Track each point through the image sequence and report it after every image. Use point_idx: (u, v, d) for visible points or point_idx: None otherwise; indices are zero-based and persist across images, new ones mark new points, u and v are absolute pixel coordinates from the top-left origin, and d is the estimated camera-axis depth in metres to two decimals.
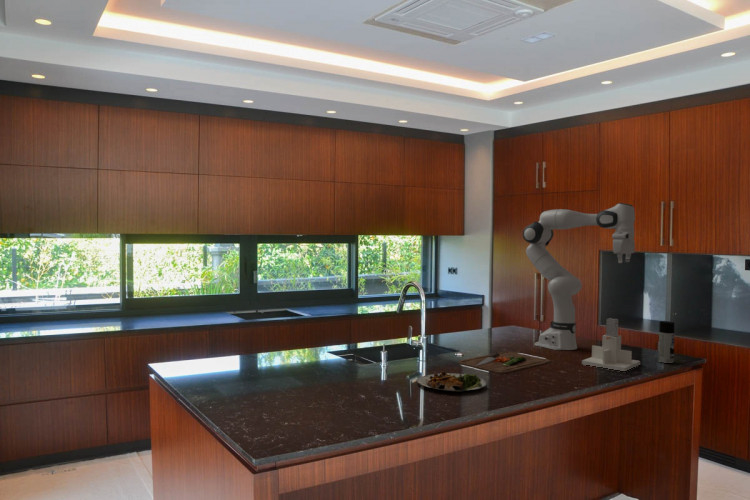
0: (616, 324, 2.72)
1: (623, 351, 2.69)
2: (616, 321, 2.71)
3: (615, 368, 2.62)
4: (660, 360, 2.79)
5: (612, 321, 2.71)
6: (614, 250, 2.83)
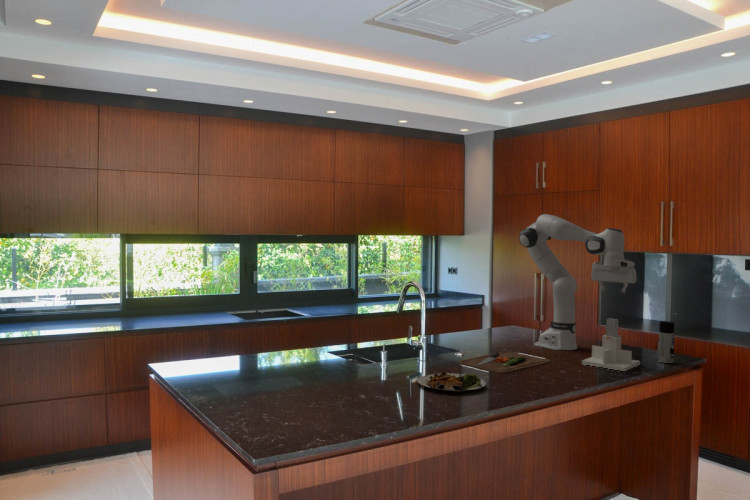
0: (616, 324, 2.72)
1: (623, 351, 2.69)
2: (616, 321, 2.71)
3: (615, 368, 2.62)
4: (660, 360, 2.79)
5: (612, 321, 2.71)
6: (634, 279, 2.65)
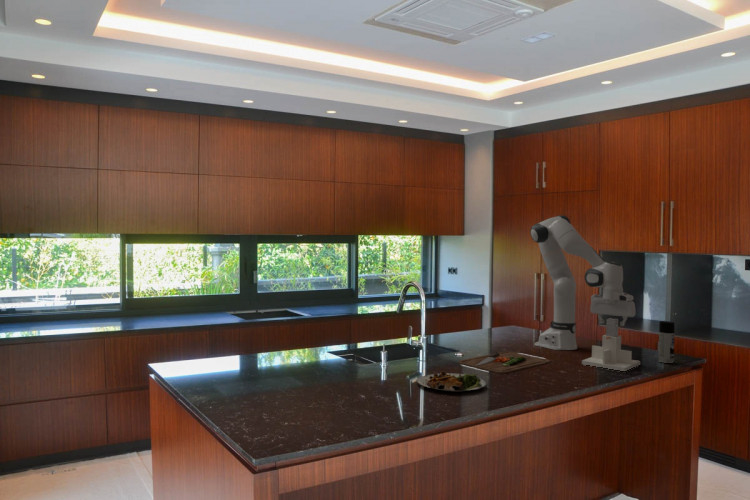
0: (616, 324, 2.72)
1: (623, 351, 2.69)
2: (616, 321, 2.71)
3: (615, 368, 2.62)
4: (660, 360, 2.79)
5: (612, 321, 2.71)
6: (633, 313, 2.65)
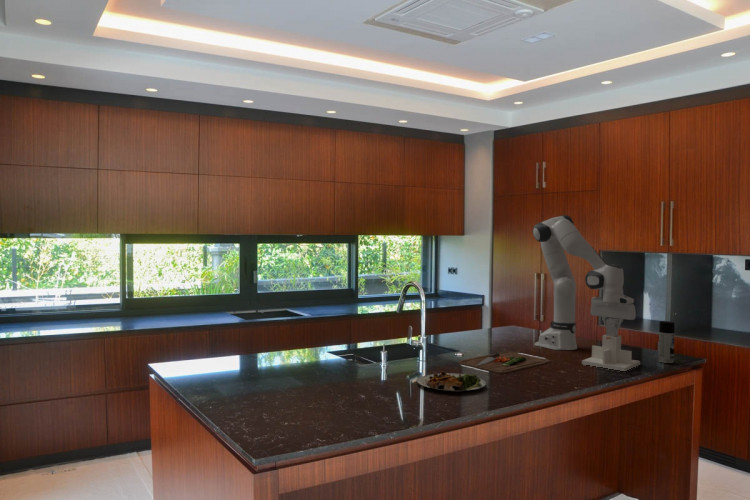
0: None
1: (623, 351, 2.69)
2: (616, 321, 2.71)
3: (615, 368, 2.62)
4: (660, 360, 2.79)
5: (612, 321, 2.71)
6: (633, 316, 2.65)
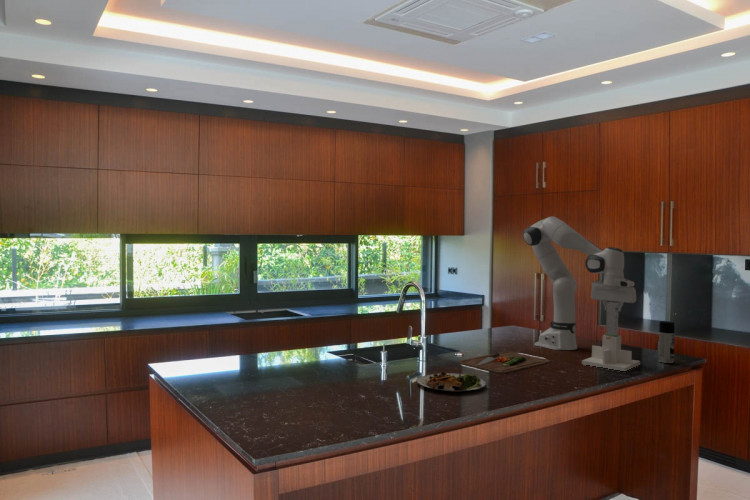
0: None
1: (623, 351, 2.69)
2: (616, 305, 2.71)
3: (615, 368, 2.62)
4: (660, 360, 2.79)
5: (612, 305, 2.71)
6: (634, 299, 2.65)
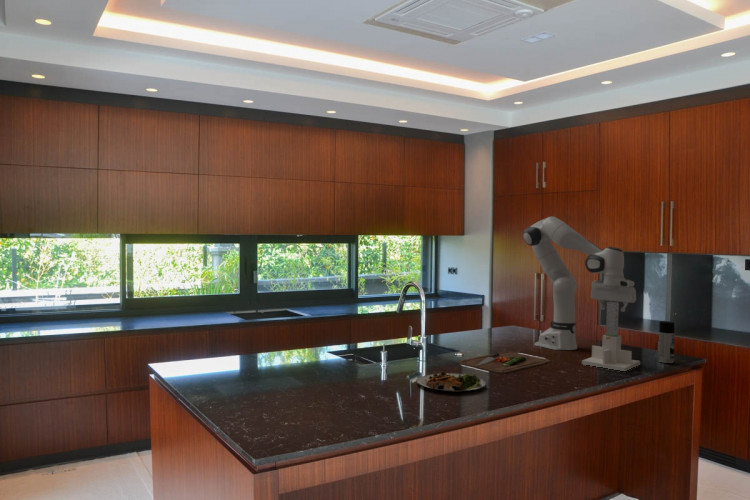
0: (616, 307, 2.71)
1: (623, 351, 2.69)
2: (616, 304, 2.71)
3: (615, 368, 2.62)
4: (660, 360, 2.79)
5: (612, 304, 2.71)
6: (634, 299, 2.65)
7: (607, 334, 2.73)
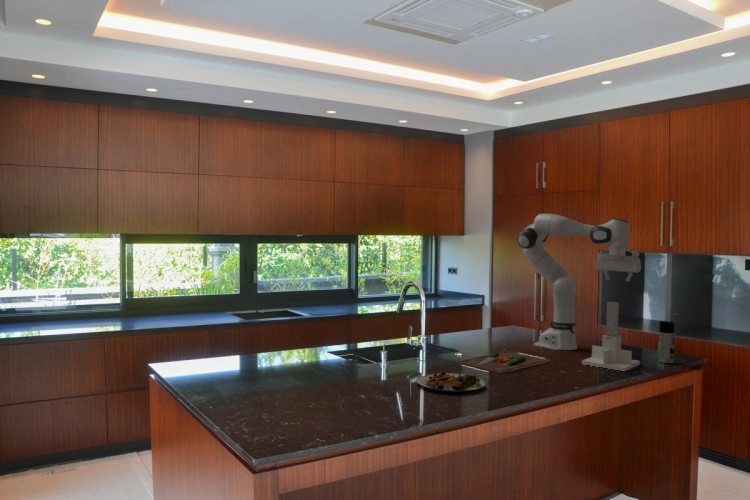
0: (616, 307, 2.71)
1: (623, 351, 2.69)
2: (616, 304, 2.71)
3: (615, 368, 2.62)
4: (660, 360, 2.79)
5: (612, 304, 2.71)
6: (638, 269, 2.71)
7: (607, 334, 2.73)
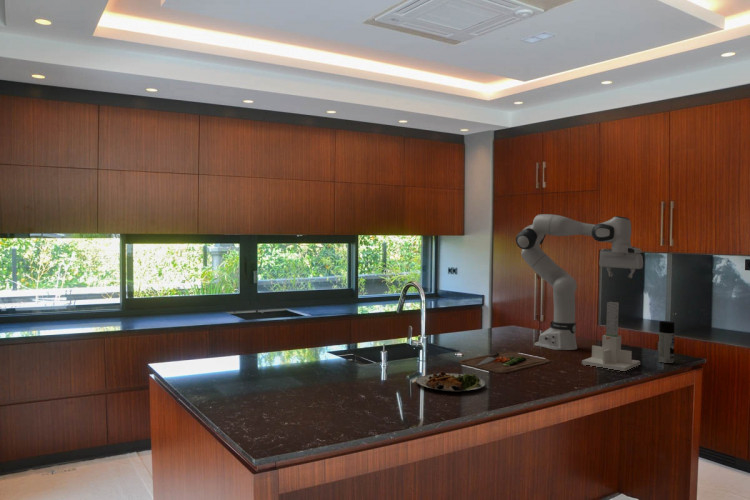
0: (616, 307, 2.71)
1: (623, 351, 2.69)
2: (616, 304, 2.71)
3: (615, 368, 2.62)
4: (660, 360, 2.79)
5: (612, 304, 2.71)
6: (641, 265, 2.76)
7: (607, 334, 2.73)
